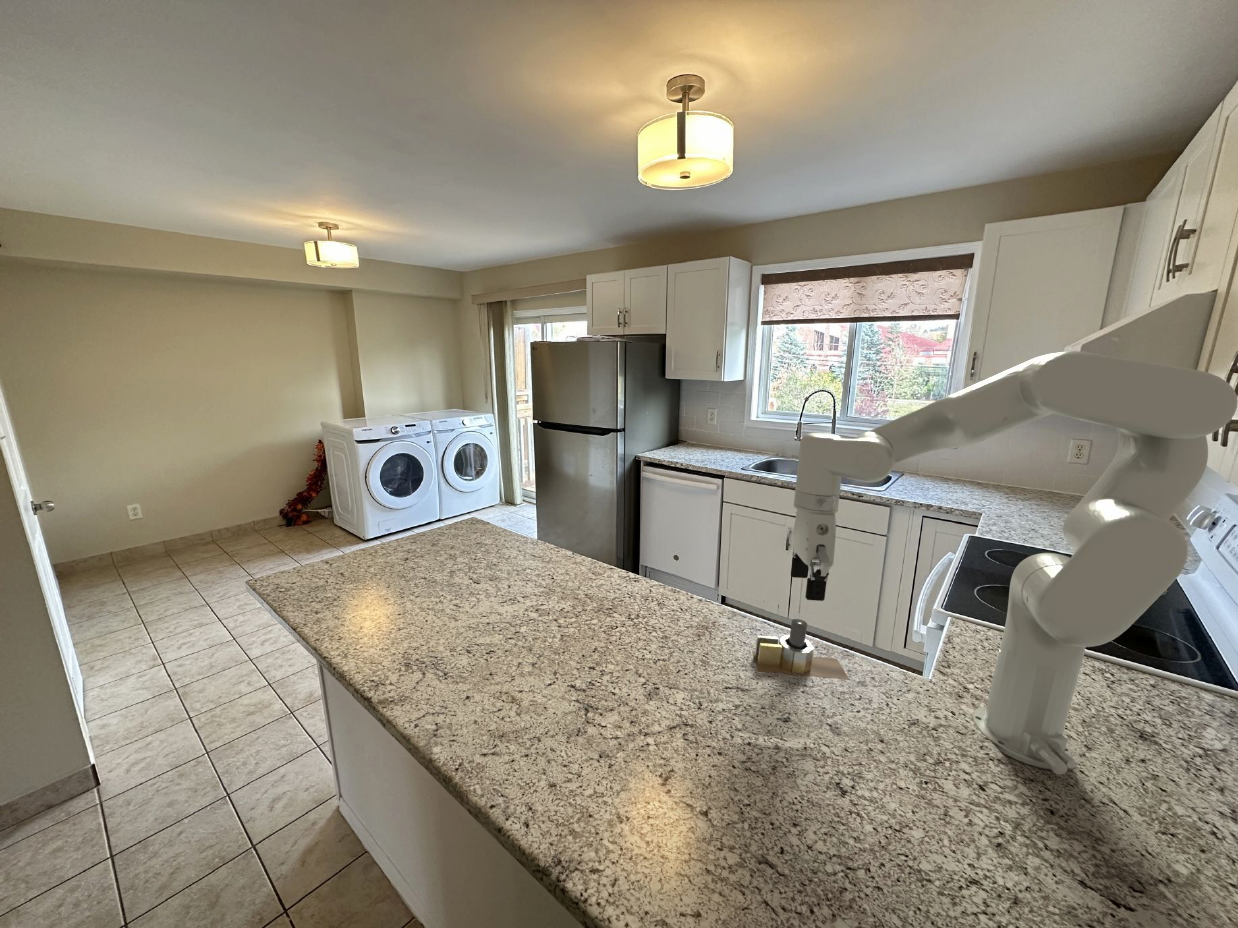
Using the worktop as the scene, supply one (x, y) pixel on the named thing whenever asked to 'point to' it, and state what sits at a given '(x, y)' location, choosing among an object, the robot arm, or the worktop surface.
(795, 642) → the hinge pin
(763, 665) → the hinge
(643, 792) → the worktop surface
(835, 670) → the base board
